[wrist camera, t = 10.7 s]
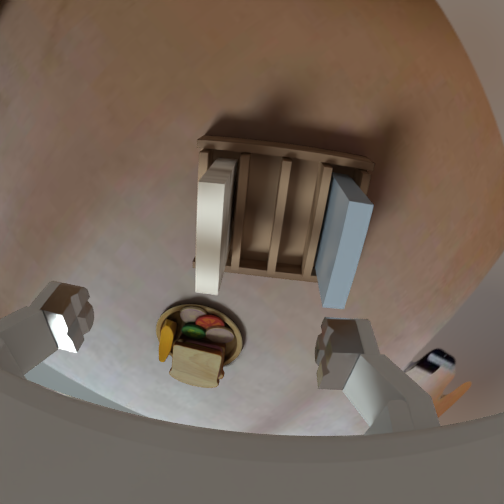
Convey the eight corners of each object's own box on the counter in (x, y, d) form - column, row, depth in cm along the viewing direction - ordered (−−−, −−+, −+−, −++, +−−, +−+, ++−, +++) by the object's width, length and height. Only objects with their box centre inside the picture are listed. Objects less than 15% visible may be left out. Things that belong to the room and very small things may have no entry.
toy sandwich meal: (255, 315, 42) (253, 340, 38) (227, 374, 48) (224, 397, 44) (165, 287, 41) (154, 309, 37) (153, 351, 47) (144, 373, 43)
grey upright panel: (330, 171, 31) (349, 201, 23) (348, 174, 31) (373, 205, 23) (312, 257, 36) (322, 307, 28) (329, 259, 36) (343, 309, 28)
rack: (203, 135, 31) (175, 154, 22) (366, 156, 31) (401, 184, 22) (198, 253, 38) (176, 306, 29) (339, 270, 38) (356, 326, 29)
